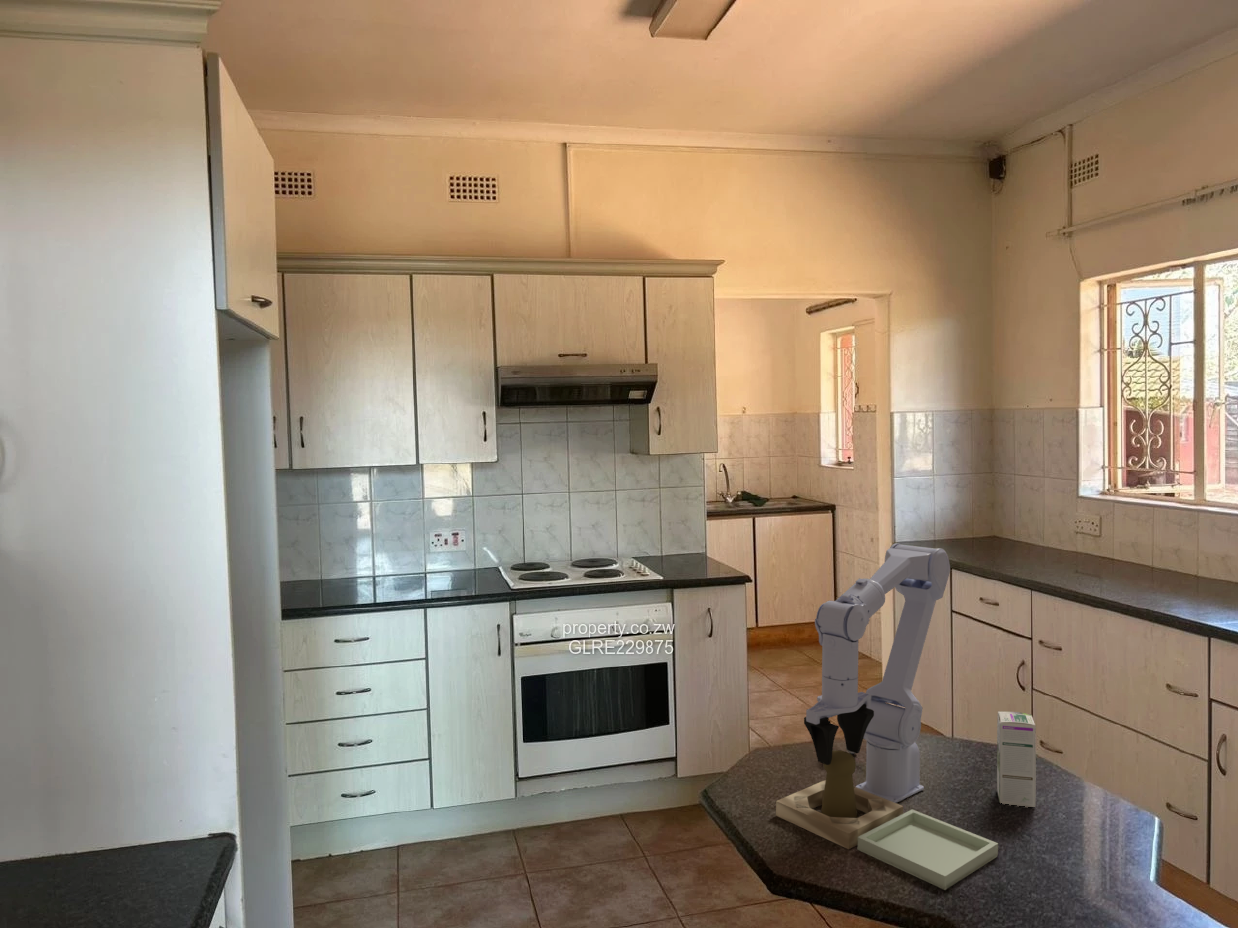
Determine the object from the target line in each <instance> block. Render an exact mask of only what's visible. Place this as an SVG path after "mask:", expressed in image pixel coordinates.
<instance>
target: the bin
mask: <svg viewBox="0 0 1238 928" xmlns="http://www.w3.org/2000/svg"><path fill="white" fill-rule="evenodd" d="M857 851H859V852H862V853H864V854H866V855H868V856H870V857H873V858H874V859H877V860H878V861H880V862H883V863H885V864H888V865H889V866H892V867H894V868H896V869H898V870H901V871H902V872H905V873H907V874H909V875H911V876H913V877H916V878H918V879H919V880H922V881H924V882H926V883H928V884H932V885H933V886H935V887H937V888H939V889H941V890H944V891H946V890H948V889H949V888H951V887H952V886H954V885H955V884H957V883H959V882H960V881H962V880H963V879H965V878H966V877H968V876H970V875H971V874H973V872H976V871H977V870H978V869H981V868H982V867H983V866H985V865H987V864H988V863H990V862H991V861H993V860H995V859H996V858H998V857H999V843H998V842H996V841H994V840H991V839H988V838H986V837H984V836H981V835H978V834H975V833H973V832H971V831H967V830H965V829H964V828H961V827H958V826H955V825H953V824H950V823H948V822H945V821H943V820H941V819H937V818H935V817H933V816H930V815H927V814H925V813H922V812H921V811H917V810H915V809H913V808H912V809H910V810H908V811H906V812H903V814H902V815H900V816H898V817H896V818H894V819H892V820H890V821H888V822H886V823H884V824H882V825H880V826H878V827H876V828H875V829H873V830H871V831H869V832H867V833H865V834H863V835H861V836H859V837H858V845H857Z"/></svg>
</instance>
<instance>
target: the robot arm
mask: <svg viewBox="0 0 1238 928" xmlns="http://www.w3.org/2000/svg"><path fill="white" fill-rule="evenodd" d="M949 558H950V557H949V556H948V553H947V551H946V550H945V549H944V548H941V547H940V548H938V547H937V548H935V547H934V548H932V547H925V546H918V545H917V546H916V545H909V544H907V545H906V544H902V543H898V542H895V543H893V544H892V545H891V546H889V548H887V550H886V551H885V555H884V562H883V563H882V565H881V566H880V567H878V569H877V570H876V571H875V572H874V574H873V575H872V576H871V577H870V578H860V577H859V578H858V579H857V580H855V583H854V584H853V585H851V587H849V588H848V589H847V590H846V591H844V592H843V594H841V595H840V596H839V597H837V599H835V600H828V601H826V602H823V603H822V604H821V605H820V606H819V608H818V609H817V612H816V616H815V619H814V626H815V630H816V631H817V633H818V643H819V645H820V646H822V647H821V648H822V649H821V650H822V652H821V695H818V696H817V697H816V703H815V704H814V705H812V706H811V707H810V708H808V709H806V710H805V711H806V712H805V715H806V716H804V717H803V724H804V725H805V727H806V728H807V729H806V730H807V731H808V733H809V735H810V738H811V740H812V743H813V746H814V749H815V751H814V752H815V754H816V759H817V762H818V763H821V764H826V765H829V764H831V760H832V752H833V751H834V748H833V747H834V742H835V739H836V736H837V735H836V734H837V732H838V730H839V728H840V726H839V725H836V724H834V723H831V720H829V719H830V718H833V717H835V716H836V717H837V715H839V714H842V717H843V721H844V727H845V738H844V742H845V749H846V748H847V750H849V751H851V752H854V753H855V754H859V753H860V751H861V747H862V744H863V740H865V741H866V748H865V750H866V752H865V753H866V755H865V756H866V758H865V760H866V761H865V762H866V764H865V766H866V767H865V768H866V769H865V771H866V772H865V781H864V782H861V783H859V784H857V785H856V786H855V787H856V788H859V789H861V790H864V791H866V792H869V793H871V794H874V795H876V796H879V797H881V798H884V799H887V800H889V801H892V802H894V803H897V804H898V802H901V801H903V800H905V799H906V798H908V797H911V796H912V795H914V794H917V793H918V792H921V791H923V790H925V787H924V785H922V784H920V776H921V774H920V773H921V772H920V770H921V765H920V763H921V754H920V753H921V752H920V749H919V746H918V744H917V743H916V742H917V740H918V738H919V737H920V735H921V734H920V733H921V729H922V728H921V727H922V714H923V707H922V704H921V702H920V701H919V699H918V698H917V697H916V696H915V695H914V693H913V691H912V689H913V686H914V682H915V679H916V674H917V671H918V667H919V664H920V660H921V657H922V653H923V650H924V645H925V642H926V639H927V635H928V632H929V628H930V626H931V625H930V624H931V622H932V621H931V620H932V617H933V614H934V609H935V606H936V602H937V601H938V600H941V599H942V598H944V594H945V591H946V588H947V585H948V584H947V583H948V580H949V577H950V573H951V565H950V559H949ZM894 588H895V590H896V591H897V592H898V593H900V594H901V595H902V596H903V597H904V604H903V608H902V611H901V614H900V618H899V622H898V625H897V628H896V631H895V635H894V639H893V641H892V642H893V643H892V644H891V645H892V646H891V648H890V653H889V656H888V660H887V663H886V666H885V669H884V674H883V677H882V680H881V681H880V682H879V683H877V684H875V685H872V686H870V687H869V688H867V689H866V691H865V692H864V691H860V692H858V691H859V643H860V642H859V640H860V639H862V638H863V636H864V634H865V632H866V629H867V627H868V625H869V623H870V618H872V617H873V616H874V614H876V613H877V612H878V611H879V610H880V609H881V608H883V606H884V605H885V602H886V594H887V593H889V592H890V591H892V590H893V589H894ZM847 750H846V751H847Z"/></svg>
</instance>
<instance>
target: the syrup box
mask: <svg viewBox="0 0 1238 928" xmlns="http://www.w3.org/2000/svg"><path fill="white" fill-rule="evenodd" d="M996 719H997V726H996V728H997V731H996V734H997V735H996V736H997V737H996V738H997V740H996V743H997V745H996V746H997V748H996V750H997V751H996V753H997V754H996V761H997V762H996V793H997V797H998V801H999V803H1000V804H1001V803H1002V804H1001V805H1005V804H1009V805H1008V806H1011V805H1017V806H1016V807H1019V806H1025V807H1024V808H1028V807H1035V808H1036V794H1037V793H1036V792H1037V791H1036V790H1037V789H1036V787H1037V786H1036V785H1037V784H1036V783H1037V779H1036V777H1037V771H1036V770H1037V769H1036V768H1037V767H1036V766H1037V762H1036V761H1037V759H1036V758H1037V756H1036V755H1037V754H1036V753H1037V751H1036V748H1037V747H1036V743H1037V742H1036V740H1037V739H1036V730H1037V727H1036V726H1037V725H1036V723H1035V721H1034V718H1033V715H1032V714H1030V713H1026V712H1019V711H997V718H996Z"/></svg>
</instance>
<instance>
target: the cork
mask: <svg viewBox="0 0 1238 928" xmlns="http://www.w3.org/2000/svg"><path fill="white" fill-rule="evenodd" d="M822 764H823V763H822ZM856 766H857V762H856V759H855V756H853V755H852V754H850V753H849V752H848V751H844V750H835V749H833V752H832V760H831V764H829V765H826V764H823V768H824V770H825V772H826V774H825V780H826V782H825V789H824V796H823V802H822V805H821V808H820V809H821V811H820V813H822V814H825V815H827V816H829V817H841V818H858V817H859V816H858V809H857V808H856V800H855V792H854V787H855V785H854V778H853V777H854V776H853V774H854V773H855V771H856Z"/></svg>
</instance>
